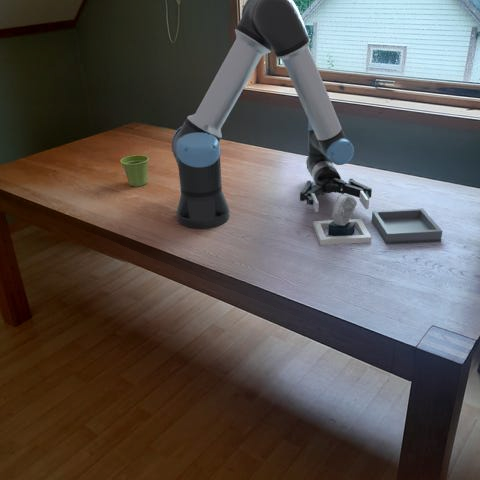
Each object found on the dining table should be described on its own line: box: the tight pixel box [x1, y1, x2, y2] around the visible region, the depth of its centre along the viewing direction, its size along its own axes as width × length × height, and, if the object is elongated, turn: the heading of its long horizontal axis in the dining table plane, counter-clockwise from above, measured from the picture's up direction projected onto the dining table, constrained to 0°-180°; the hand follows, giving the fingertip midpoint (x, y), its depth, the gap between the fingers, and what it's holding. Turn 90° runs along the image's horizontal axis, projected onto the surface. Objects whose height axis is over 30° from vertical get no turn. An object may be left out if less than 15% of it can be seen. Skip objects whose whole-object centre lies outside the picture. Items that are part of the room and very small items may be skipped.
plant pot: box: [120, 154, 150, 188], centre depth 174 cm, size 9×9×9 cm
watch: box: [327, 193, 358, 237], centre depth 135 cm, size 6×8×11 cm
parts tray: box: [371, 208, 443, 245], centre depth 137 cm, size 14×14×3 cm
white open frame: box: [313, 218, 372, 246], centre depth 137 cm, size 13×11×2 cm
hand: (342, 206), depth 138 cm, fingers open, 13 cm apart
